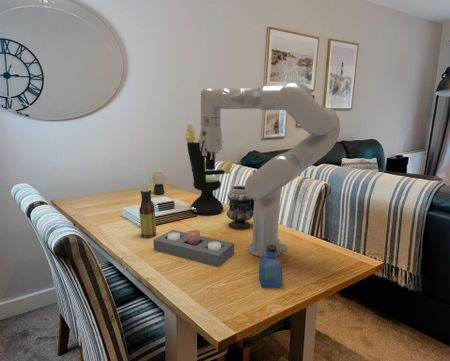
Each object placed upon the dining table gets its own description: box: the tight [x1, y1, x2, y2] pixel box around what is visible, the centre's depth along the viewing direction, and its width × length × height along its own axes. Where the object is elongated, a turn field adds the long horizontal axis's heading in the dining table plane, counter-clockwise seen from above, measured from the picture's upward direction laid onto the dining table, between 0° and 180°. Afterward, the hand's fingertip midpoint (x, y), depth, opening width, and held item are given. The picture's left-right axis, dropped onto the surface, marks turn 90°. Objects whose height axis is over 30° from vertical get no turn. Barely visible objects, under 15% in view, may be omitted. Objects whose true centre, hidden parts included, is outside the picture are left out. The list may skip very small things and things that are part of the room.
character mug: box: [149, 171, 168, 195], centre depth 207 cm, size 11×7×13 cm, turn 120°
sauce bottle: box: [138, 188, 157, 239], centre depth 141 cm, size 7×6×20 cm
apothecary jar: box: [226, 184, 253, 230], centre depth 155 cm, size 12×12×18 cm
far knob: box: [167, 232, 180, 241], centre depth 132 cm, size 5×5×5 cm
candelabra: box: [184, 123, 233, 216], centre depth 170 cm, size 19×22×45 cm
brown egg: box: [186, 230, 201, 246], centre depth 128 cm, size 5×5×5 cm
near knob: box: [208, 241, 221, 251], centre depth 124 cm, size 5×5×5 cm
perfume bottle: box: [258, 244, 283, 288], centre depth 107 cm, size 6×6×12 cm
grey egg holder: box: [153, 229, 235, 268], centre depth 128 cm, size 28×12×4 cm, turn 62°
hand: (210, 169), depth 135 cm, fingers closed
